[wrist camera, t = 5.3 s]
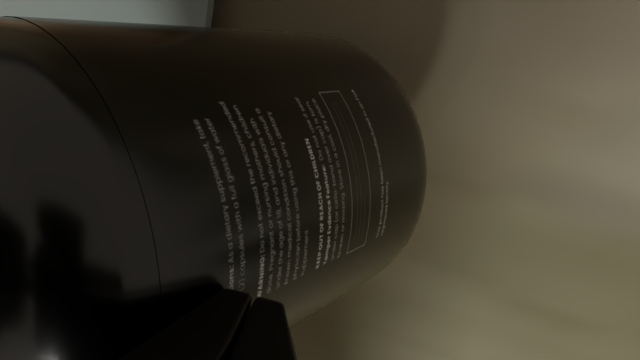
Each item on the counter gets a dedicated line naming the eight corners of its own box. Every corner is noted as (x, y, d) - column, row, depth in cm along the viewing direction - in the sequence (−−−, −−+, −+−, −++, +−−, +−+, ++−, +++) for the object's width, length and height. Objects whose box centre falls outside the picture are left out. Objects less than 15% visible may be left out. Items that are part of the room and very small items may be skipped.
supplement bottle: (266, -1, 15) (-528, -116, 5) (483, 97, 12) (-507, 244, 2) (213, 205, 18) (-367, 368, 8) (377, 328, 15) (-256, 825, 5)
